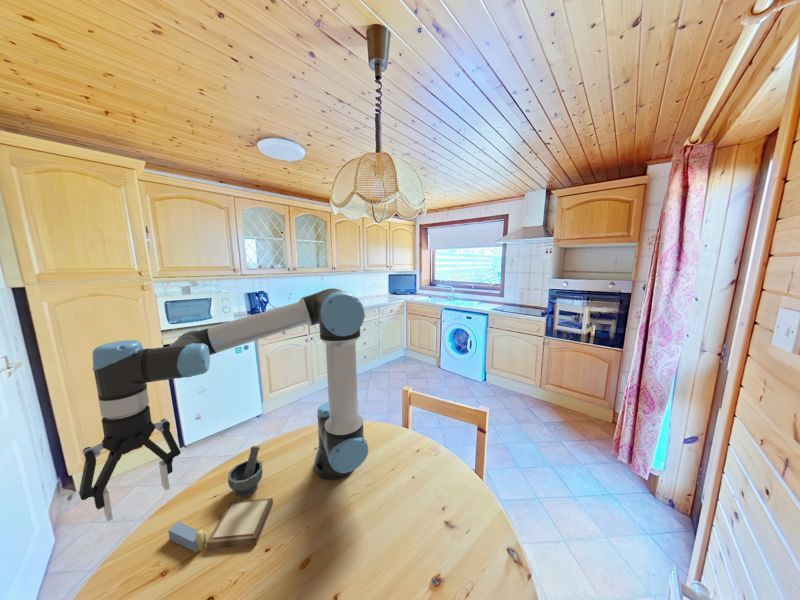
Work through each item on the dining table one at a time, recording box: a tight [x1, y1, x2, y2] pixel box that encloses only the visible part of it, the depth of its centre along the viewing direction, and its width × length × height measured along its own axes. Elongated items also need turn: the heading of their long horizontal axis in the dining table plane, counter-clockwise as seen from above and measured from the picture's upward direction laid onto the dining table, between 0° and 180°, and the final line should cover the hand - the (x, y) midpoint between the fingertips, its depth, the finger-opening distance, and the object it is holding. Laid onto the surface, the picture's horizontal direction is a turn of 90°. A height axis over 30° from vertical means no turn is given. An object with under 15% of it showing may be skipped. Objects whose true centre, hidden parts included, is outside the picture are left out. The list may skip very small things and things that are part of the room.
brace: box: [167, 521, 207, 553], centre depth 70 cm, size 11×2×4 cm, turn 71°
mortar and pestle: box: [227, 445, 263, 499], centre depth 87 cm, size 11×9×12 cm
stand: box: [205, 497, 274, 551], centre depth 75 cm, size 12×12×2 cm
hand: (139, 501), depth 63 cm, fingers open, 9 cm apart
